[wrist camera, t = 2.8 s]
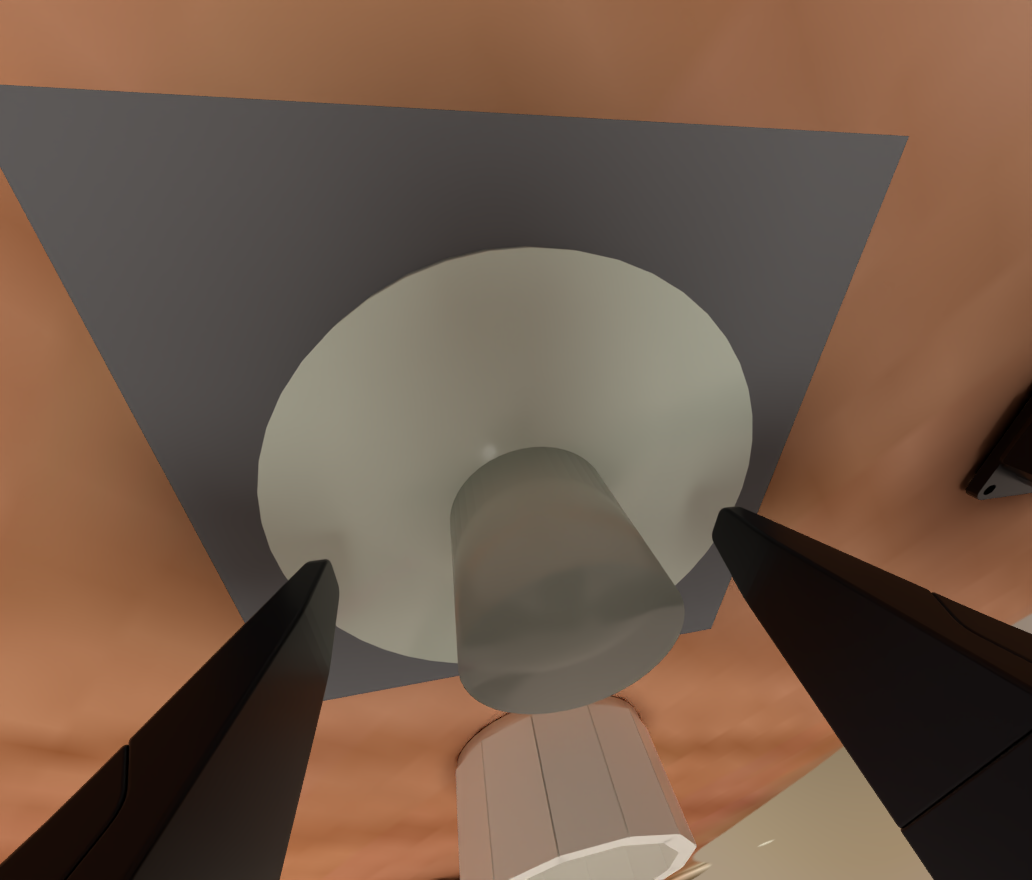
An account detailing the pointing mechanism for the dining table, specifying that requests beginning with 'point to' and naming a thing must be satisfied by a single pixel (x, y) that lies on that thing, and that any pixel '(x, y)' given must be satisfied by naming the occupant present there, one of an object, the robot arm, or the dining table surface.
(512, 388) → the lid
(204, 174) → the mat
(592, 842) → the bowl
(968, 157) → the dining table surface
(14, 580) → the dining table surface
